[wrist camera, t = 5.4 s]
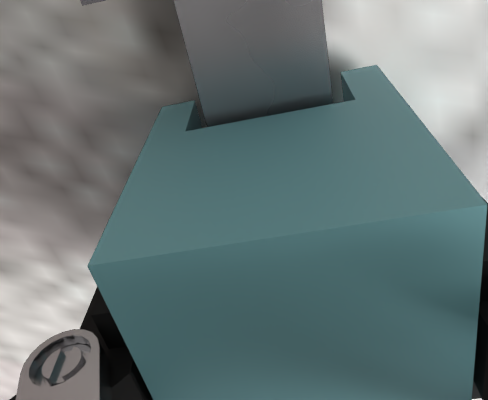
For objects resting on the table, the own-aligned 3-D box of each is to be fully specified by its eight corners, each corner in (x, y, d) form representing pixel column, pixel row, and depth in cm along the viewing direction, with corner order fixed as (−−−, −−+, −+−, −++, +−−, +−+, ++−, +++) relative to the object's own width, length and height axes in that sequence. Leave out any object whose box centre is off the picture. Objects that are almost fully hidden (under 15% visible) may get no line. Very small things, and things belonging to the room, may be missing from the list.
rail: (109, -85, 9) (50, -82, 7) (359, -148, 9) (406, -174, 6) (279, 473, 20) (283, 560, 18) (396, 462, 20) (419, 550, 17)
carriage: (162, 106, 11) (87, 265, 6) (376, 64, 10) (487, 204, 5) (220, 292, 14) (201, 497, 9) (388, 268, 13) (465, 475, 9)
